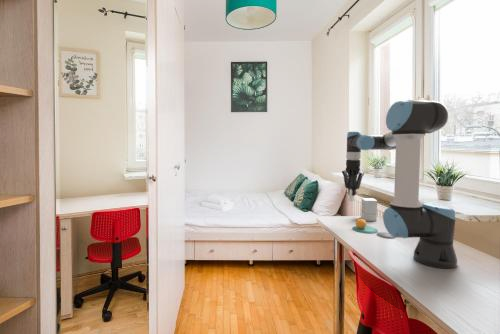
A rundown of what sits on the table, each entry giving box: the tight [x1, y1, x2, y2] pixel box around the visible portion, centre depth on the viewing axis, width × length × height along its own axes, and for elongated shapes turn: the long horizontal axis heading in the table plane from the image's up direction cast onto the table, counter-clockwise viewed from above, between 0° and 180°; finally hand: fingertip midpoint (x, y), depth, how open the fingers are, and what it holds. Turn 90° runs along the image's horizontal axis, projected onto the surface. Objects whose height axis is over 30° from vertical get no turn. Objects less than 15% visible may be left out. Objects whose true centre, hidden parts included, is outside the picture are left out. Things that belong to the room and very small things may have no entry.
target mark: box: [352, 225, 379, 234], centre depth 161 cm, size 13×13×1 cm
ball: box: [355, 218, 367, 229], centre depth 162 cm, size 6×6×6 cm
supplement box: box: [360, 197, 378, 222], centre depth 180 cm, size 7×7×13 cm
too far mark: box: [376, 231, 396, 239], centre depth 151 cm, size 9×9×1 cm
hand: (351, 200), depth 167 cm, fingers closed
